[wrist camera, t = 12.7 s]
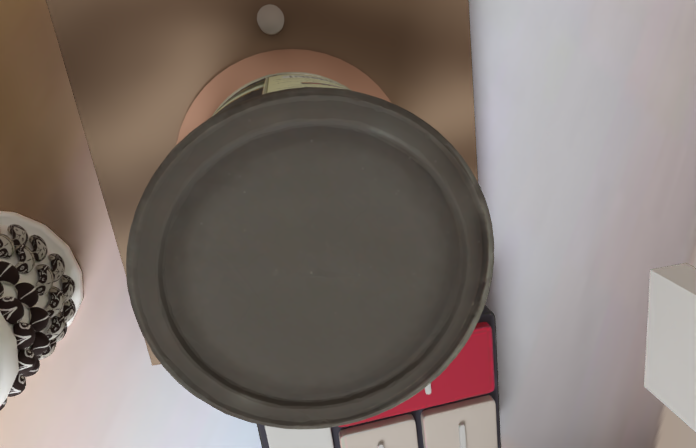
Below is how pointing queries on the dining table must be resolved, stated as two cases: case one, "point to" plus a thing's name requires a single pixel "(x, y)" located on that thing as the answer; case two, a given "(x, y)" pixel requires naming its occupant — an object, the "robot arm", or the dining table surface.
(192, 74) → the pin board
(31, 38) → the dining table surface
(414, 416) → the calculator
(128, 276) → the coffee can
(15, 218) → the decorative candle
